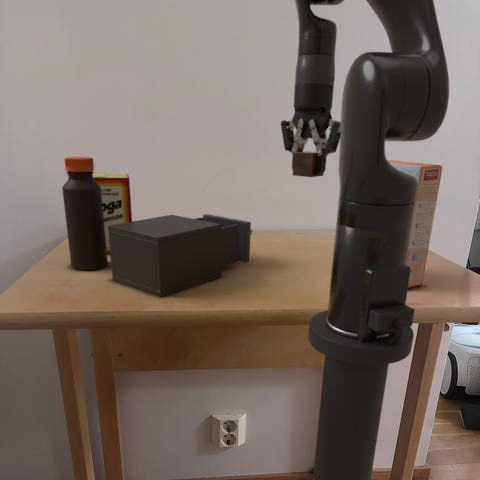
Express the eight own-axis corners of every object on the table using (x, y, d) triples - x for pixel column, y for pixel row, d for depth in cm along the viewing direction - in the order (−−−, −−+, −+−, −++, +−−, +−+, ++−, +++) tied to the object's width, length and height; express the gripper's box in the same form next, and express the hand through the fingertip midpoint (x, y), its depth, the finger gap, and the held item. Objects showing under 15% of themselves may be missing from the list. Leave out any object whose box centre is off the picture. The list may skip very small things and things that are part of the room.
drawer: (220, 247, 106) (220, 211, 103) (262, 257, 99) (264, 219, 96) (158, 264, 93) (156, 223, 90) (202, 276, 87) (202, 232, 84)
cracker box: (423, 285, 87) (445, 164, 79) (401, 291, 84) (420, 165, 76) (366, 266, 98) (380, 158, 90) (344, 270, 95) (357, 158, 87)
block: (323, 175, 101) (325, 152, 99) (311, 177, 98) (313, 153, 96) (304, 174, 104) (306, 151, 102) (292, 175, 100) (293, 151, 99)
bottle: (71, 262, 96) (58, 156, 89) (106, 260, 99) (97, 156, 91) (71, 272, 91) (58, 159, 83) (109, 269, 93) (99, 159, 85)
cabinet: (173, 263, 97) (171, 214, 93) (221, 277, 90) (221, 224, 86) (112, 280, 87) (107, 225, 83) (160, 297, 79) (158, 237, 75)
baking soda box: (132, 245, 110) (127, 172, 104) (134, 252, 104) (129, 175, 98) (89, 247, 108) (81, 172, 102) (88, 254, 102) (80, 176, 96)
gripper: (273, 82, 96) (269, 172, 102) (336, 79, 87) (328, 178, 94) (294, 85, 101) (290, 170, 107) (356, 83, 93) (347, 176, 99)
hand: (308, 173), depth 100 cm, fingers closed on block, 4 cm apart
